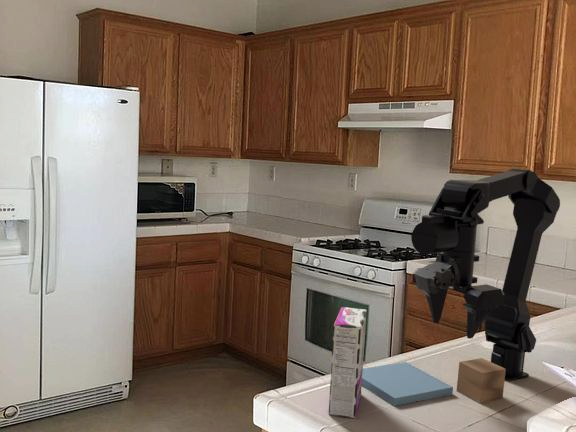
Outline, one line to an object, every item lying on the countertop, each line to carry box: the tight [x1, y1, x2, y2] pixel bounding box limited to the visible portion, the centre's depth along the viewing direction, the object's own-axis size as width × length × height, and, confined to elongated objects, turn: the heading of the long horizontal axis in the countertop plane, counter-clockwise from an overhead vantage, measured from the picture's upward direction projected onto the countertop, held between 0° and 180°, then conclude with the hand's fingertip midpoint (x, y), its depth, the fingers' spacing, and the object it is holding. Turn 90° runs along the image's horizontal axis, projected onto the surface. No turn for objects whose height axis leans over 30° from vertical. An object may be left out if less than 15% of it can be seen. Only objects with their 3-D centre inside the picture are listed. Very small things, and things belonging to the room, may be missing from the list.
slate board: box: [361, 361, 454, 407], centre depth 124 cm, size 14×14×2 cm
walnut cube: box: [456, 357, 506, 404], centre depth 121 cm, size 6×6×6 cm
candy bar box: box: [328, 306, 367, 419], centre depth 113 cm, size 11×5×16 cm, turn 168°
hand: (452, 330), depth 120 cm, fingers open, 9 cm apart
